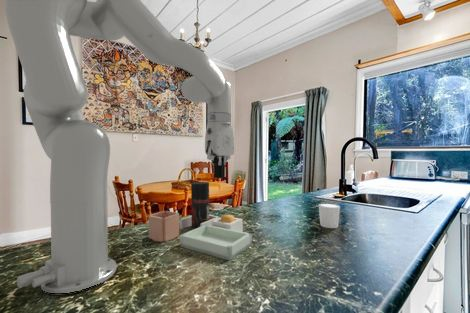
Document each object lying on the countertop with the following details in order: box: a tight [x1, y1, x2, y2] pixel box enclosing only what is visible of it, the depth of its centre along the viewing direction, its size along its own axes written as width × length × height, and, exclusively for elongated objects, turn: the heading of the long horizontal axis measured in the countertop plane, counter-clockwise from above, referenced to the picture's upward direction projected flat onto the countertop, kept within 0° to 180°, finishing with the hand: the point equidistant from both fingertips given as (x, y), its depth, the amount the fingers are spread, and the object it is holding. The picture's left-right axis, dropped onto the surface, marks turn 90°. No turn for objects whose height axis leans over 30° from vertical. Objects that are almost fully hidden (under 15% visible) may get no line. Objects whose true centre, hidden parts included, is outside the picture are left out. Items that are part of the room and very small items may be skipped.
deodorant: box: [190, 181, 210, 230], centre depth 78 cm, size 6×6×15 cm
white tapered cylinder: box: [318, 203, 341, 229], centre depth 79 cm, size 7×7×7 cm
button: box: [220, 214, 235, 223], centre depth 72 cm, size 4×4×4 cm
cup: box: [148, 210, 180, 243], centre depth 69 cm, size 7×7×7 cm
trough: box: [179, 225, 253, 261], centre depth 62 cm, size 11×16×3 cm
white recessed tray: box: [179, 214, 244, 232], centre depth 76 cm, size 10×19×4 cm, turn 58°
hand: (219, 177), depth 74 cm, fingers closed
